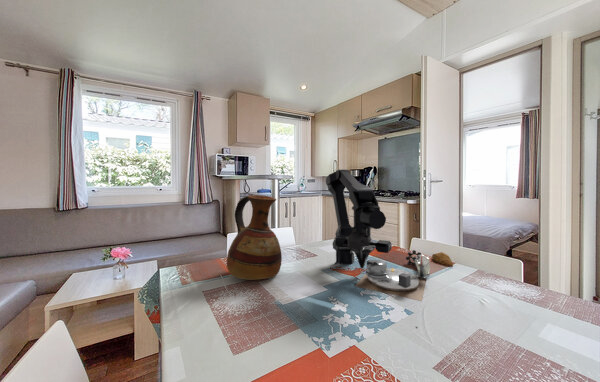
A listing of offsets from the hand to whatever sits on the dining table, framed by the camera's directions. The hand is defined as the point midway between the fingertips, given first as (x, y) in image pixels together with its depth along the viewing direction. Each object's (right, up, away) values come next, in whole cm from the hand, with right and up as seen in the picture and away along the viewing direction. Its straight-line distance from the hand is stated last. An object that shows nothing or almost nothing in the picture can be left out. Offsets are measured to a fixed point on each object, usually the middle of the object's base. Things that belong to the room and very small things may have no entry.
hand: (362, 267), depth 84 cm
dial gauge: (+20, -3, -3) cm, 20 cm away
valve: (+23, -4, +6) cm, 24 cm away
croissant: (+36, -3, +14) cm, 39 cm away
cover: (+4, -1, -3) cm, 5 cm away
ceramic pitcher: (-39, -4, +4) cm, 39 cm away
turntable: (+9, -3, -5) cm, 10 cm away
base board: (+9, -4, -5) cm, 11 cm away
